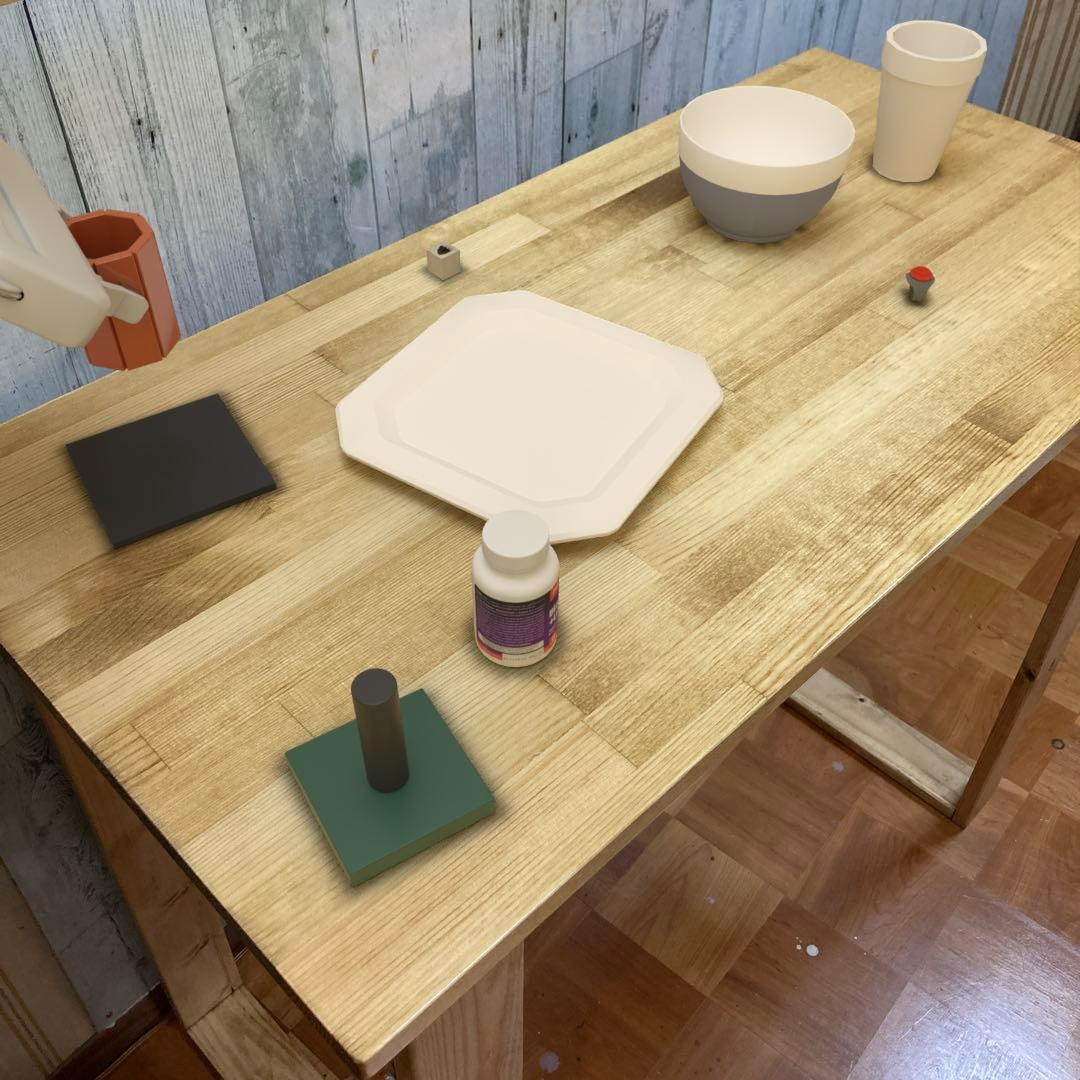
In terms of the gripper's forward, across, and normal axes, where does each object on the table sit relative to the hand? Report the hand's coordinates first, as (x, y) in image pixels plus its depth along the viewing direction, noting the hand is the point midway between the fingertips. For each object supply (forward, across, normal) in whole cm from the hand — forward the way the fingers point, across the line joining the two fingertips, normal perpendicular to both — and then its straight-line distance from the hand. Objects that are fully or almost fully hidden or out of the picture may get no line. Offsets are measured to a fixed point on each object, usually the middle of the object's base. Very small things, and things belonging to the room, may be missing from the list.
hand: (122, 279), depth 73 cm
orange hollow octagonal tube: (+3, 0, +4) cm, 5 cm away
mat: (+11, 0, +12) cm, 16 cm away
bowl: (+54, +6, -30) cm, 62 cm away
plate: (+30, -9, -6) cm, 32 cm away
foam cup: (+68, +6, -44) cm, 81 cm away
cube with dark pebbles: (+32, +13, -9) cm, 36 cm away
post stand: (+12, -33, +10) cm, 37 cm away
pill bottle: (+21, -27, +2) cm, 34 cm away
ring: (+56, -12, -33) cm, 67 cm away
